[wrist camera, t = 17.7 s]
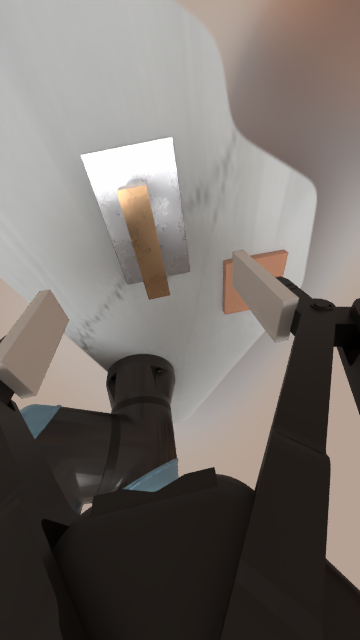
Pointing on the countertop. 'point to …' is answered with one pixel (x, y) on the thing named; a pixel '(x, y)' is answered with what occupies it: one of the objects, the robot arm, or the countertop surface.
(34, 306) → the robot arm
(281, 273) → the tile
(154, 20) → the countertop surface
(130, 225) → the trowel
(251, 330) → the countertop surface
